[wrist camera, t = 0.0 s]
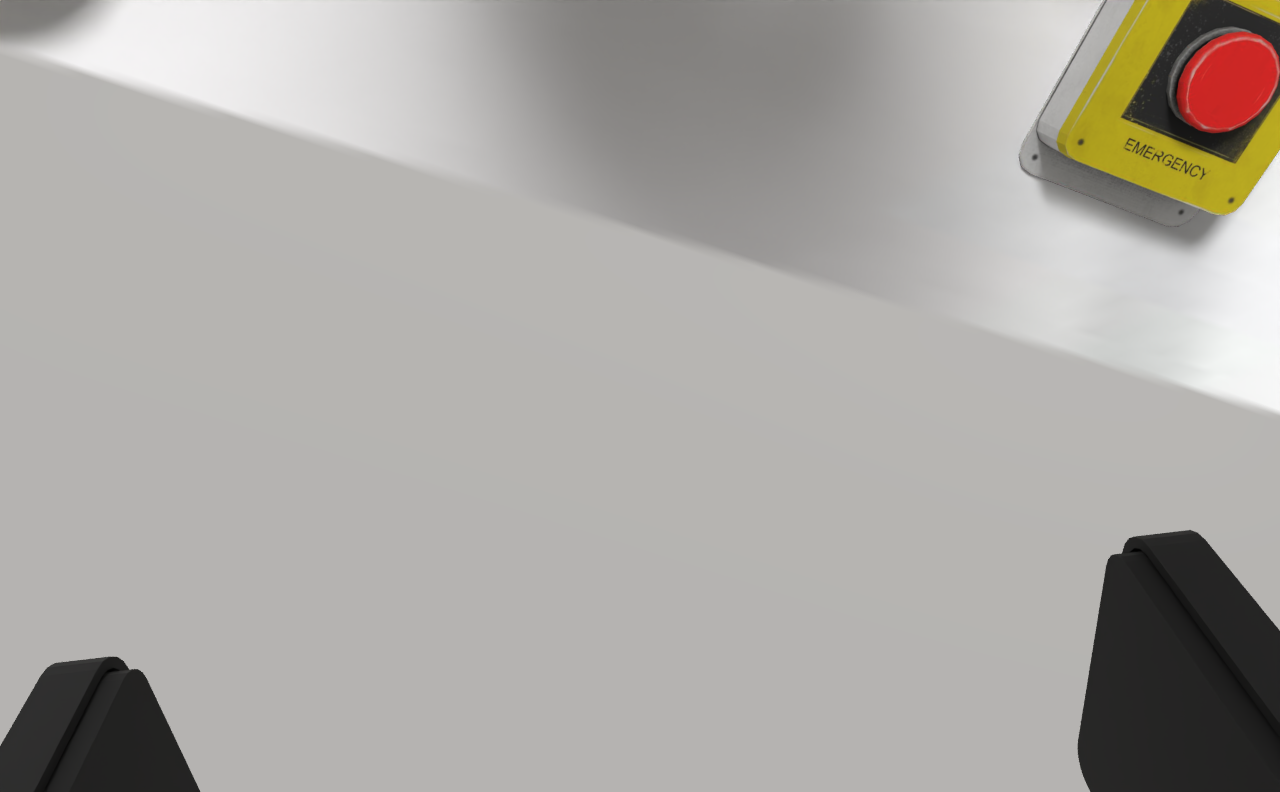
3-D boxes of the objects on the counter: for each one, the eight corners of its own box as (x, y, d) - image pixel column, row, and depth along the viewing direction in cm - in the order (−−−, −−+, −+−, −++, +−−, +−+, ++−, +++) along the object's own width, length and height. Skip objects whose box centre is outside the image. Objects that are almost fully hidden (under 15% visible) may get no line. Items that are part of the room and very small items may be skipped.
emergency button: (1043, 196, 43) (1275, -198, 36) (1005, 162, 47) (1209, -202, 40) (1227, 266, 45) (1479, -94, 39) (1177, 227, 49) (1398, -107, 42)
